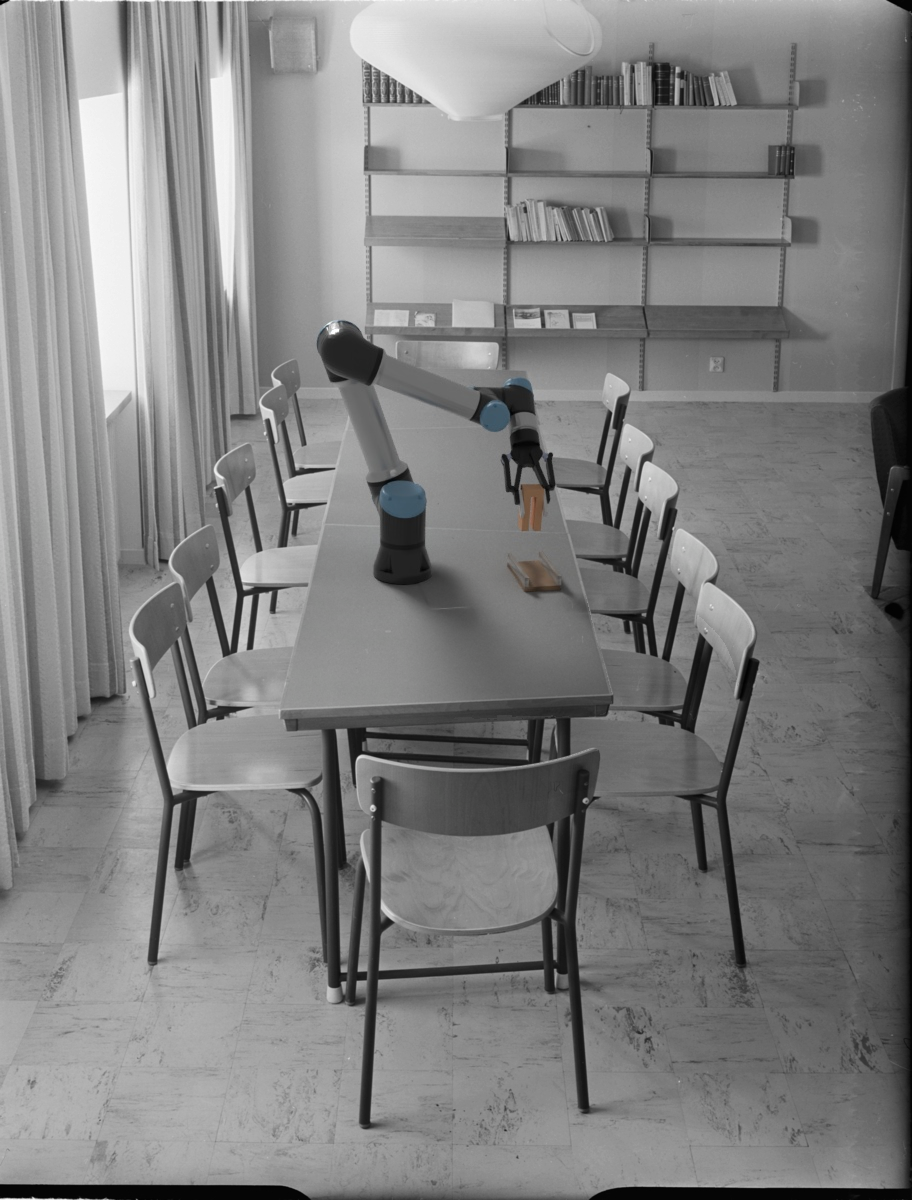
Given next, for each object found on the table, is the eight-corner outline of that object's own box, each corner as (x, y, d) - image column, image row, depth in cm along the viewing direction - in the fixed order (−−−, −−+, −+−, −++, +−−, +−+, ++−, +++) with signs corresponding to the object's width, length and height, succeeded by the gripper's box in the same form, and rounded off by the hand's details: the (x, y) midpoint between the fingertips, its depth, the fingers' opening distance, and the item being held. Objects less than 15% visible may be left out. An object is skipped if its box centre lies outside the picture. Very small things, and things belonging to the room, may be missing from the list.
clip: (521, 531, 302) (524, 489, 297) (517, 525, 306) (520, 484, 301) (540, 530, 303) (544, 489, 298) (536, 525, 307) (539, 484, 302)
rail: (524, 591, 299) (525, 578, 298) (507, 566, 316) (507, 553, 314) (560, 589, 301) (561, 576, 300) (541, 564, 318) (542, 551, 316)
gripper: (556, 440, 312) (567, 520, 303) (487, 442, 310) (496, 523, 301) (560, 425, 305) (572, 506, 297) (490, 427, 303) (500, 509, 294)
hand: (534, 514), depth 299 cm, fingers closed on clip, 5 cm apart
